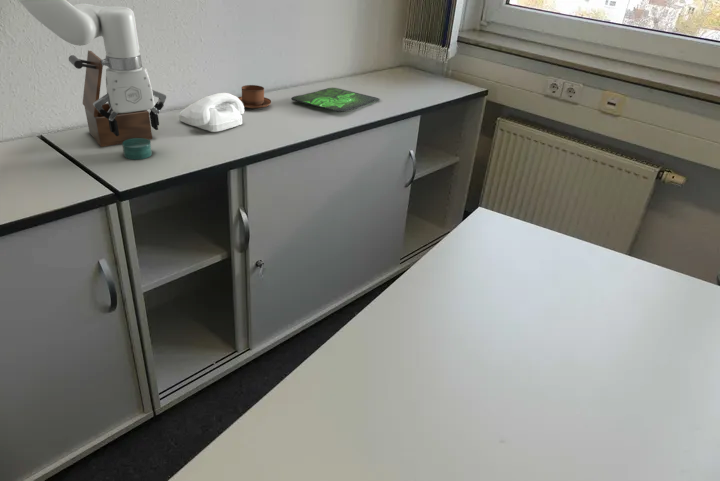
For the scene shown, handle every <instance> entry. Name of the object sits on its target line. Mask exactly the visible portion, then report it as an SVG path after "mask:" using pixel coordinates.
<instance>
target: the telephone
mask: <svg viewBox="0 0 720 481" xmlns="http://www.w3.org/2000/svg"><path fill="white" fill-rule="evenodd" d="M244 113H245V107H244V105H243V103H242V102H241V101H240V100H239V99H238V96H236V95H234V94H231V93H229V92H218V93H213V94H210V95H207V96H203V97H202V98H200V99H197V100H195V101H193V102H192V103H190V104H189V105H188V106H186V107H185V108H183V109H181V111H180V112H179V115H178V116H179V122H182V123H185V124H187V125H189V126H193V127H196V128H199V129H201V130H205V131H208V132H211V133H218V132H222V131H226V130H229V129H232V128H236V127H239V126H241V125H242V124H243V116H242V115H244Z"/></svg>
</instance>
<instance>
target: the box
mask: <svg viewBox="0 0 720 481" xmlns="http://www.w3.org/2000/svg"><path fill="white" fill-rule="evenodd" d="M83 106H84V105H83ZM102 108H103V109H104V110H105V111H107V112H108V110H109V109H110V106H109V104H108V102H107V103H105V104H104V105H102ZM84 112H85V116H86V122H87V126H88V131H89V132H88V133H89V135H91V136H92V138H93V139H94V141H95V142H96V143H97V144H98V145H99V147H101V148H104V147H110V146H115V145H122V143H123V142H124V141H125V140H128V139H132V138H144V139H148V140H149V141H150V140H153V134H152V126H151V120H150V111H149V110H143V111H136V112H128V113H118V114H117V116H116V117H115V120H116V121H117V125H118V130H119V136H116V135H115V134H114V133H113V132H111V131H110V126H109V121H108V119H107V118H106V117H104V116H103V115H101V114H100V113H99V111H98V112H97V117H94V116H93V115H92V114H91V113H90V112H89V111H88V110H87V108H86V107H85V106H84Z"/></svg>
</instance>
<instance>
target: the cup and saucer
mask: <svg viewBox="0 0 720 481" xmlns="http://www.w3.org/2000/svg"><path fill="white" fill-rule="evenodd" d="M237 98H238V99H239V100H240V101H241V102H242V103H243V105H244V109H252V110H253V109H254V110H255V109H257V110H258V109H264V108H266V107H269V106H270V105H271V104H272V100H271V99H270V98H267V97H265V87H264V86H261V85H258V84H257V85H256V84H247V85H242V86H241V96H237Z"/></svg>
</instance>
